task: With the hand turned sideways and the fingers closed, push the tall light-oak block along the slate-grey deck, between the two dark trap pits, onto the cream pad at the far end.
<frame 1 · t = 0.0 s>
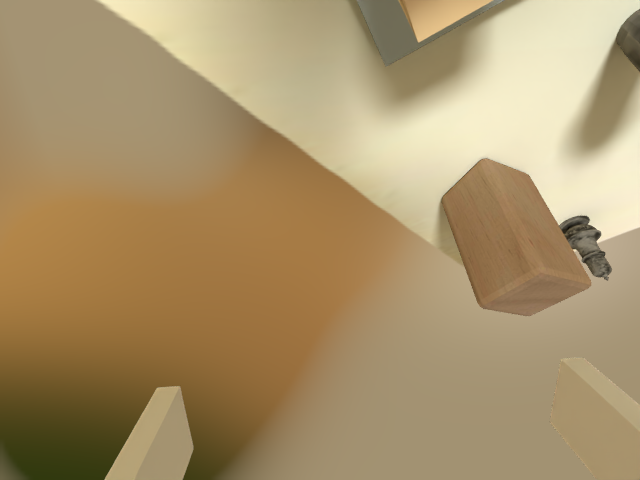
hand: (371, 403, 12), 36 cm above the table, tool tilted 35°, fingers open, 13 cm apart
block: (482, 184, 56), on the table
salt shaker: (572, 223, 67), on the table
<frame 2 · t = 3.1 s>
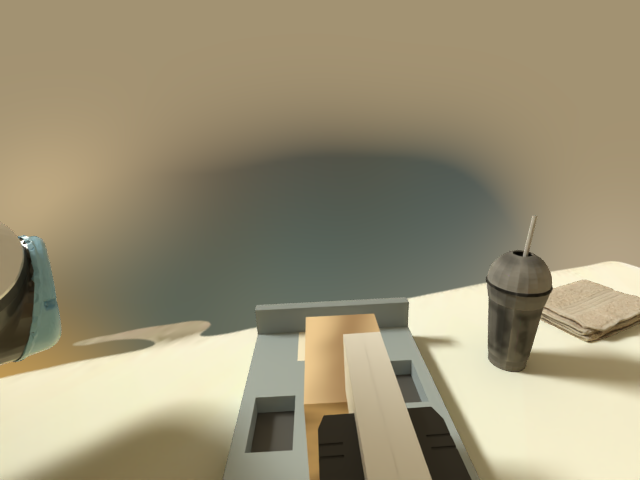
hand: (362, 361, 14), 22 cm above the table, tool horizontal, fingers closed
washcloth: (585, 315, 58), on the table
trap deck: (341, 424, 39), on the table
beverage cup: (506, 361, 48), on the table
oak block: (348, 477, 30), point 2 cm above the table, touching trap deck
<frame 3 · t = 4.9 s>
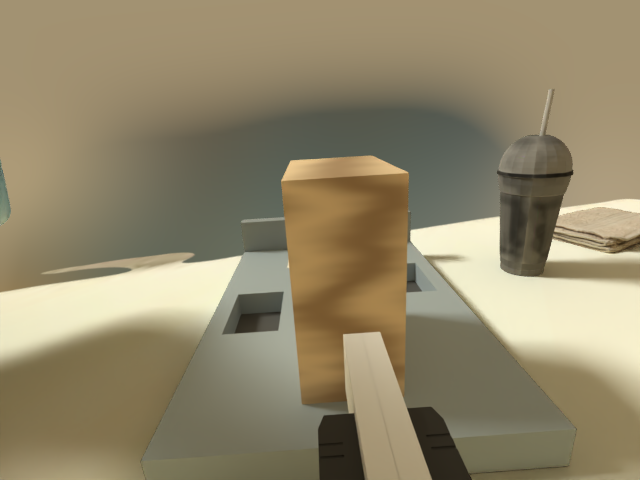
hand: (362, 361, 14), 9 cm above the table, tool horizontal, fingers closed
washcloth: (603, 237, 53), on the table
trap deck: (337, 320, 34), on the table
beverage cup: (520, 270, 43), on the table
oak block: (344, 349, 25), point 2 cm above the table, touching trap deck
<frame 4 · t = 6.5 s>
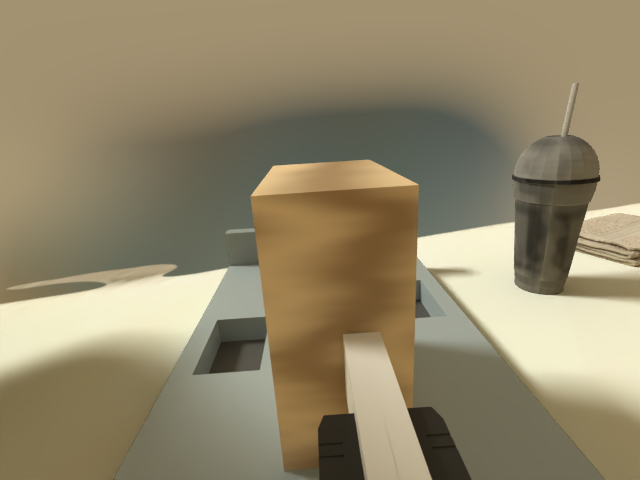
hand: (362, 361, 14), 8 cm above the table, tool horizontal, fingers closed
washcloth: (624, 246, 49), on the table
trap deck: (331, 351, 29), on the table
beverage cup: (537, 286, 38), on the table
oak block: (338, 389, 21), point 3 cm above the table, touching gripper, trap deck
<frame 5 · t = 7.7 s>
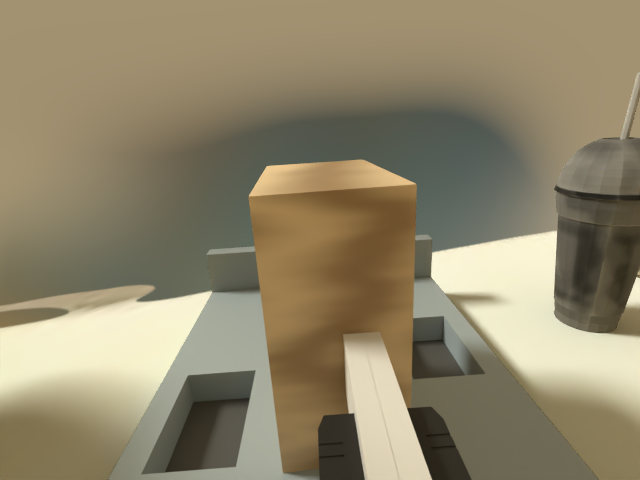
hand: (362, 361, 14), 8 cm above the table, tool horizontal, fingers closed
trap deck: (334, 417, 22), on the table
beverage cup: (583, 320, 31), on the table
oak block: (334, 389, 21), point 3 cm above the table, touching gripper
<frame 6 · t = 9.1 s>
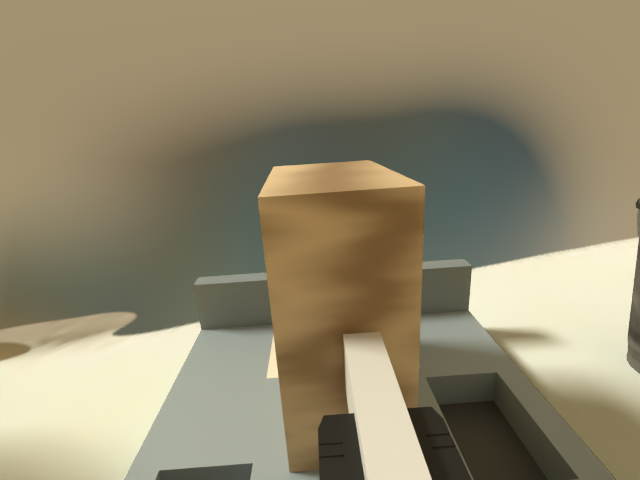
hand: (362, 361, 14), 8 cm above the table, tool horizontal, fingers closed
oak block: (340, 390, 21), point 3 cm above the table, touching gripper
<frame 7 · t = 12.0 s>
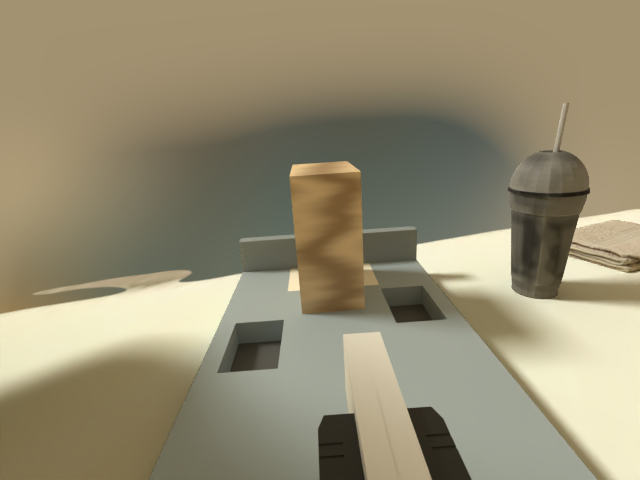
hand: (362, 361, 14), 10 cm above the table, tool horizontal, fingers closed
washcloth: (619, 253, 51), on the table
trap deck: (340, 351, 32), on the table
beverage cup: (533, 291, 40), on the table
oak block: (329, 288, 38), point 2 cm above the table, touching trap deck
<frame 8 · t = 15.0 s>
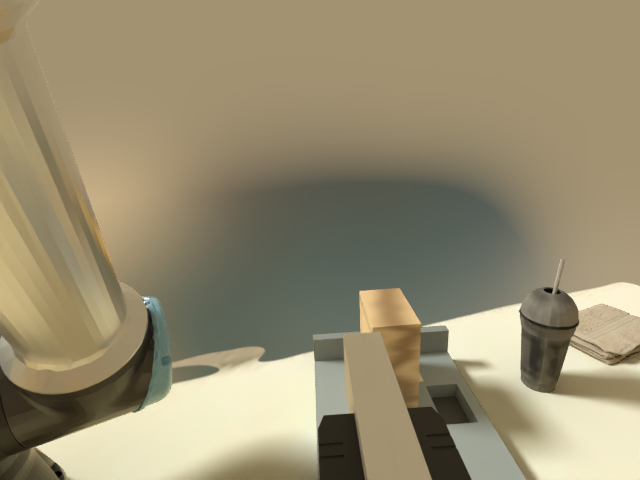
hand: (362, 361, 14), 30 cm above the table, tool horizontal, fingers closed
washcloth: (604, 338, 64), on the table
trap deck: (403, 443, 45), on the table
beverage cup: (537, 382, 54), on the table
oak block: (387, 384, 52), point 2 cm above the table, touching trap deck
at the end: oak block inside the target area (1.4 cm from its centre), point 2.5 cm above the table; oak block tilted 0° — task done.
